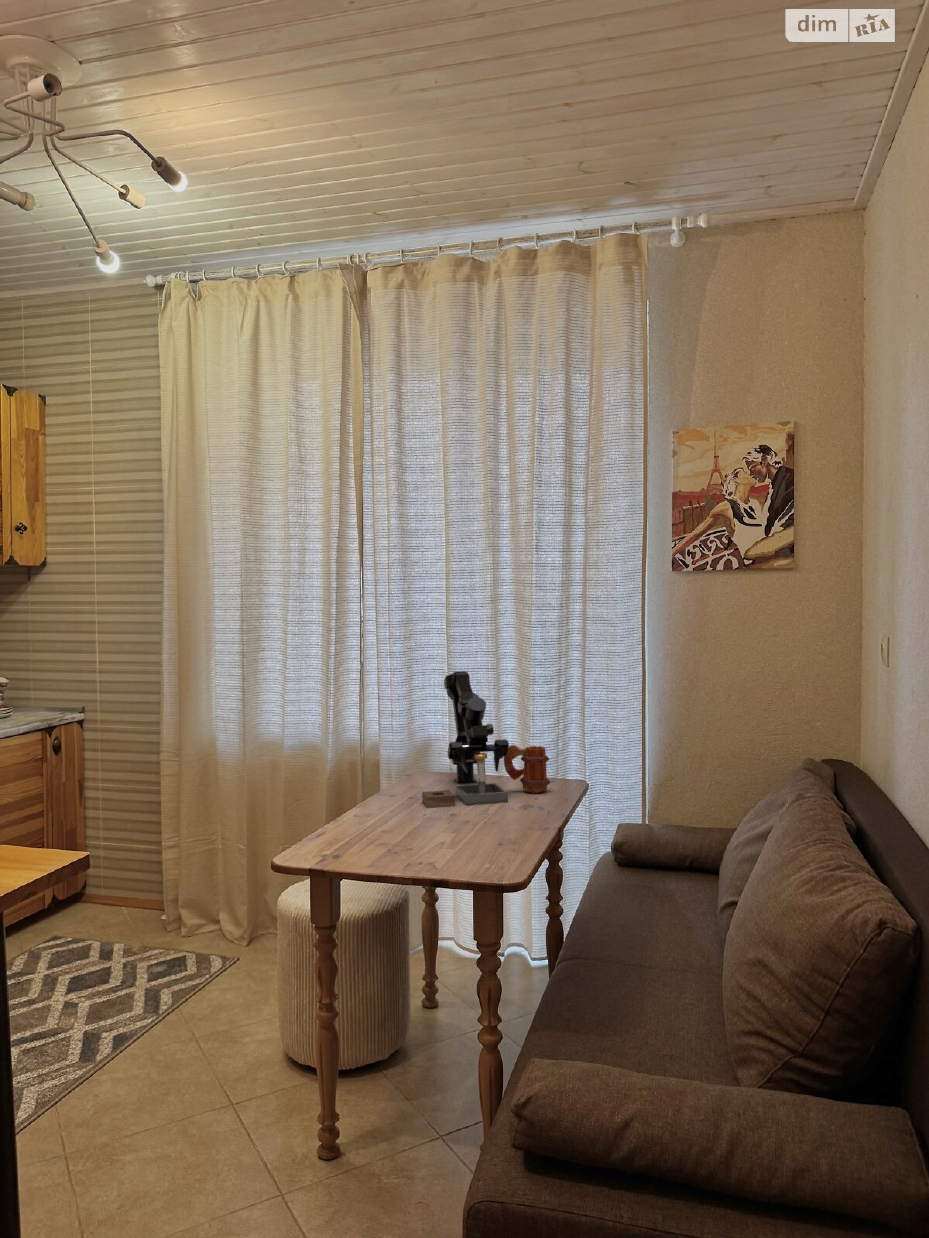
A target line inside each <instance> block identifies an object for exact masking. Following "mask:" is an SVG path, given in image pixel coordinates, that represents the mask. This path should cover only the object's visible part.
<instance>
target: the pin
mask: <svg viewBox="0 0 929 1238" xmlns="http://www.w3.org/2000/svg"><path fill="white" fill-rule="evenodd" d="M474 759H477V764H476V769H477V770H476V771H477V774H476V775H477V785H478V794H484V793H486V784H487V783H486V762H485V760H486V759H488V753H486V752H480V753H476V754H474Z"/></svg>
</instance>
